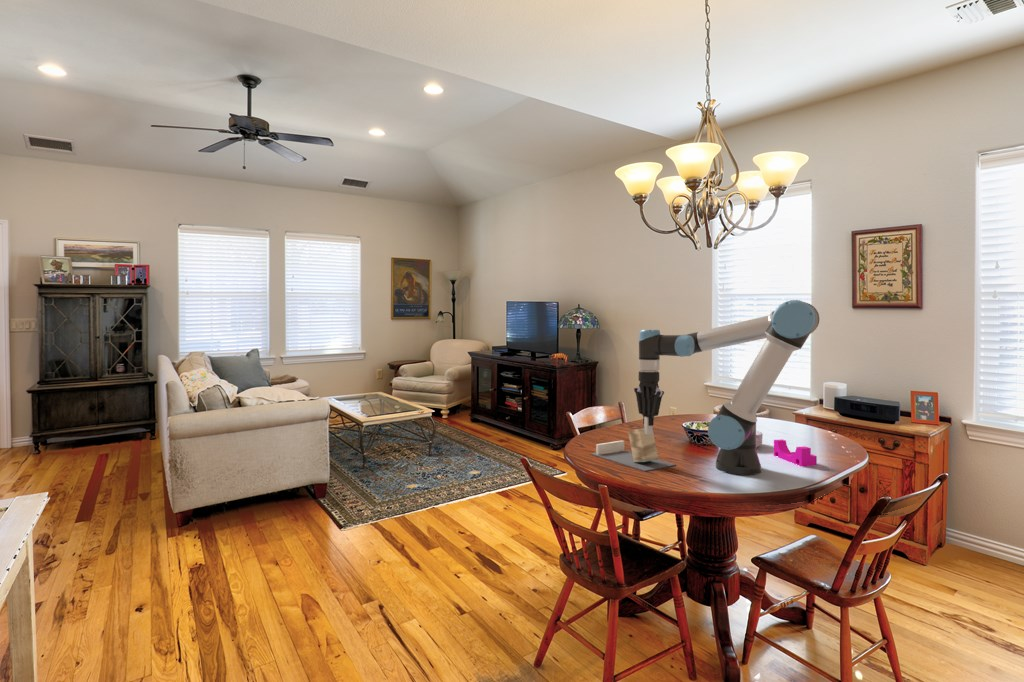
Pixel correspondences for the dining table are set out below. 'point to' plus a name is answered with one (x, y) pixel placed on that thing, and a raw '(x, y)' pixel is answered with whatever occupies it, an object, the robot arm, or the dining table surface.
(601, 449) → the stop rail
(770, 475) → the dining table surface
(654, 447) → the beech block
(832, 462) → the dining table surface
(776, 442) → the toy block
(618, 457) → the gray ramp
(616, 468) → the dining table surface
